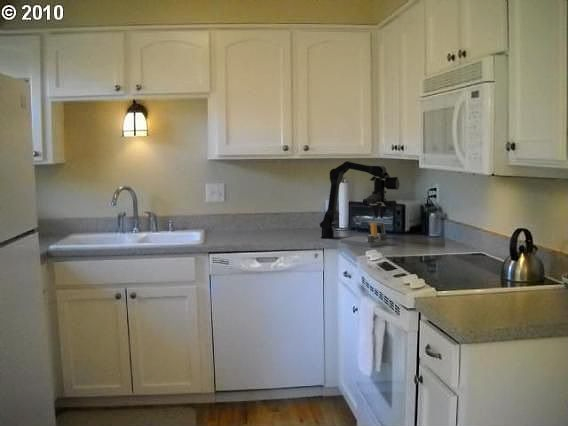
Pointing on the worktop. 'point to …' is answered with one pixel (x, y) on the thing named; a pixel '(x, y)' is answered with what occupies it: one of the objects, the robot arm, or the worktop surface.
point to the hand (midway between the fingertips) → (379, 218)
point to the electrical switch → (379, 227)
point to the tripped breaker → (374, 230)
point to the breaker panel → (366, 240)
